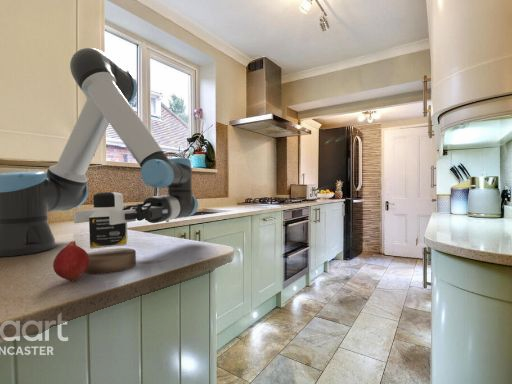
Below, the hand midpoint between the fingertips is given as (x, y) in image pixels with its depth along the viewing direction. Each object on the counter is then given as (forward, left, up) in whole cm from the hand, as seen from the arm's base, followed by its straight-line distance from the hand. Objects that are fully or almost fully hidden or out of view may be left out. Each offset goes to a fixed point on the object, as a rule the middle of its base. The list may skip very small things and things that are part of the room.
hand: (92, 217), depth 59 cm
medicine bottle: (-4, +2, -7) cm, 8 cm away
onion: (+5, -2, -12) cm, 13 cm away
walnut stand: (-4, +2, -12) cm, 13 cm away
